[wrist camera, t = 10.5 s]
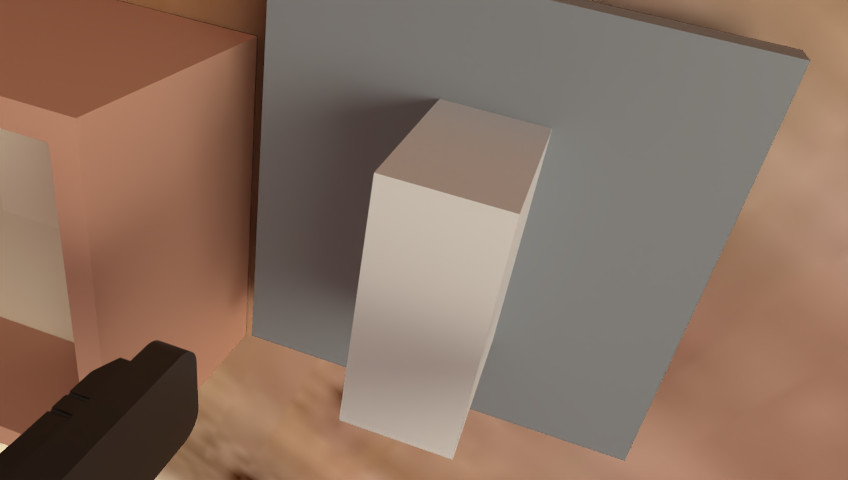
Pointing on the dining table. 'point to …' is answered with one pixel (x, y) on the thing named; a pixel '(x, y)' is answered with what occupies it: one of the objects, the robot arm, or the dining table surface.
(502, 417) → the lid
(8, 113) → the crate
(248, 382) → the dining table surface
